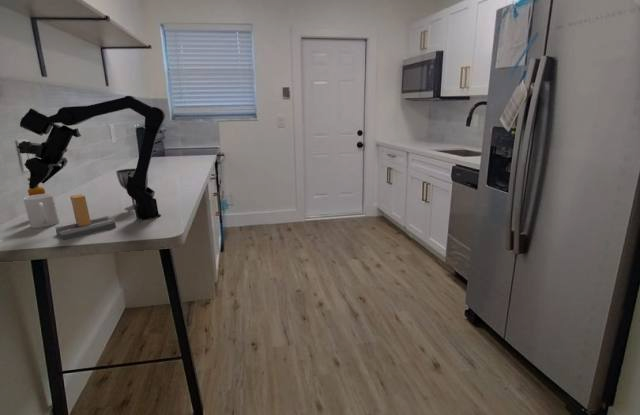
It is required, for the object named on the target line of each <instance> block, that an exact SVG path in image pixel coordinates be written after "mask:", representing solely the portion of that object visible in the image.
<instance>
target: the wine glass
mask: <svg viewBox="0 0 640 415" xmlns="http://www.w3.org/2000/svg"><path fill="white" fill-rule="evenodd" d="M135 171H136V168H126V169H125V168H124V169H119V170H116V171H115V172H116V177H117V180H118V183H119V185H120V186H121V187H122V189H124V190H125V191H127V188H125V187H126V185H127V182H128V176H129V175H130V174H134V173H135ZM130 198H131V201H132V205H130V206H127V207H125V208H124V210H125V211H135V207H134V206H136V204H135V200H134V198H132V197H130Z"/></svg>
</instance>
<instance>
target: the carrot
mask: <svg viewBox="0 0 640 415" xmlns="http://www.w3.org/2000/svg"><path fill="white" fill-rule="evenodd" d="M27 181H28V182H29V183H30V177H27ZM29 183H27V185H29ZM39 185H40V183H39V184H38V185H37V186H36V187H35V188H34V189H31V188H29V187H28V188H27V194H28V196H32V195H38V194H46V190H45V188H44V187H42V186H39Z"/></svg>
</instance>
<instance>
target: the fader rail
mask: <svg viewBox="0 0 640 415" xmlns="http://www.w3.org/2000/svg"><path fill="white" fill-rule="evenodd" d="M90 221H91V223H92V225H85V226H83V227H79V228H78V227H76V225H75V224H76V222H73V223H70V224H69V223H68V224H62V225H60V226H56V227H55V233H56V235H57V236H58V237H59V238H61V239H62V240H63V241H65V240H70V239H74V238H78V237H82V236H86V235H90V234H95V233H98V232H102V231H107V230H110V229H115V228H117V225H116V222H115V219H109V218H108V215H105V216H101V217H95V218H93V219H92V218H90Z"/></svg>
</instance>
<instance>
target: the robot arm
mask: <svg viewBox="0 0 640 415" xmlns="http://www.w3.org/2000/svg"><path fill="white" fill-rule="evenodd" d="M128 109H129V110H132V111H134V112H135V113H137V114H139V116H140V115H141V116H143V117H144V135H143V139H142V143H141V146H140V151H139V155H138V159H137V162H136V163H137V164H136V167H135V169H136V171H135V173H134V174H130V175H129V176H128V182H127V185H126V187H125V188H127V190H126V193H127V195H128V196H129V197H130V198H131V197H132V198H134V201H135V204H136V206H134V207H135V210H134V212H135V217H136V218H137V219H139V220H142V221H145V220H149V219H155V218H158V217H161V214H160V213H159V208H158V203H157V201H158V200H157V199H156V198H154V196H155V193H156V192H155V190H153V188H150V187H149V186H148V180H149V179H148V178H149V176H148V175H149V174H148V173H149V169H150V168H149V167H150V165H151V160H152V157H153V156H152V155H153V153H154V147H155V144H156V140H157V136H158V133H159V131H160V129H161V128H162V125H163V124H164V121H165V120H166V113H165V111H164V110H163V109H162V108H160V107H158V106H150V105H149V104H147V103H145V102H143V101H141V100H139V99H137V98H136V97H134V96H132V95H125V96H123V97H119V98H115V99H112V100H106V101H102V102H98V103H94V104H90V105H80V106H79V105H77V106H76V105H74V106H63V107H61V108H59V109H58V110H57V113H55V114H52V115H47V114H45V113H42V112H40V111H39V110H38V109H36V108H29V110H28V111H27V112H26V113H25V114H24V116H23V117H22V118H21V119H20V121H19V127H20V128H23V129H24V130H27V131H29V132H31V133H34V134H36V135H38V136H41V137H42V136H44V135H48V136H47V138H46V141H42V142H41V143H38V142H37V143H36V142H31V141H26V140H22V141H21V142H19V143H18V145H17V147H16V148H17V149H18V153H19V154H29V155H34V157H31V158H28V159H26V160H25V163H24V166H25V168H26V169H27V170H28V171H29V178H30V182H29V184H28V189H29V188H31V189H34V188H35V187H36V186H37V185H38V184H39V185H40V184H45V183H47V182H48V181H50V179H51V178H52V177H54V176H55V175H56V174H58V173H59V172H60V171H61V170H62V169H64V167H66V166H67V163H68V159H67V158H66V157H65V156H64V155H65V153H67V152H68V150H69V148H68V146H69V145H70V142H71V140H72V138H73V137H75V138H80V137H81V136H82V135H81V133H80V132H79V128H77V127H76V128H71V127H69V126H76V125H80V124H82V123H84V122H87V121H89V120H90V119H92V118H95V117H97V116H104V115H106V114H107V115H108V114H110V113H115V112H119V111H123V110H128ZM59 123H60V124H62V125H59ZM39 185H38V186H39ZM132 198H131V199H132Z"/></svg>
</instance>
